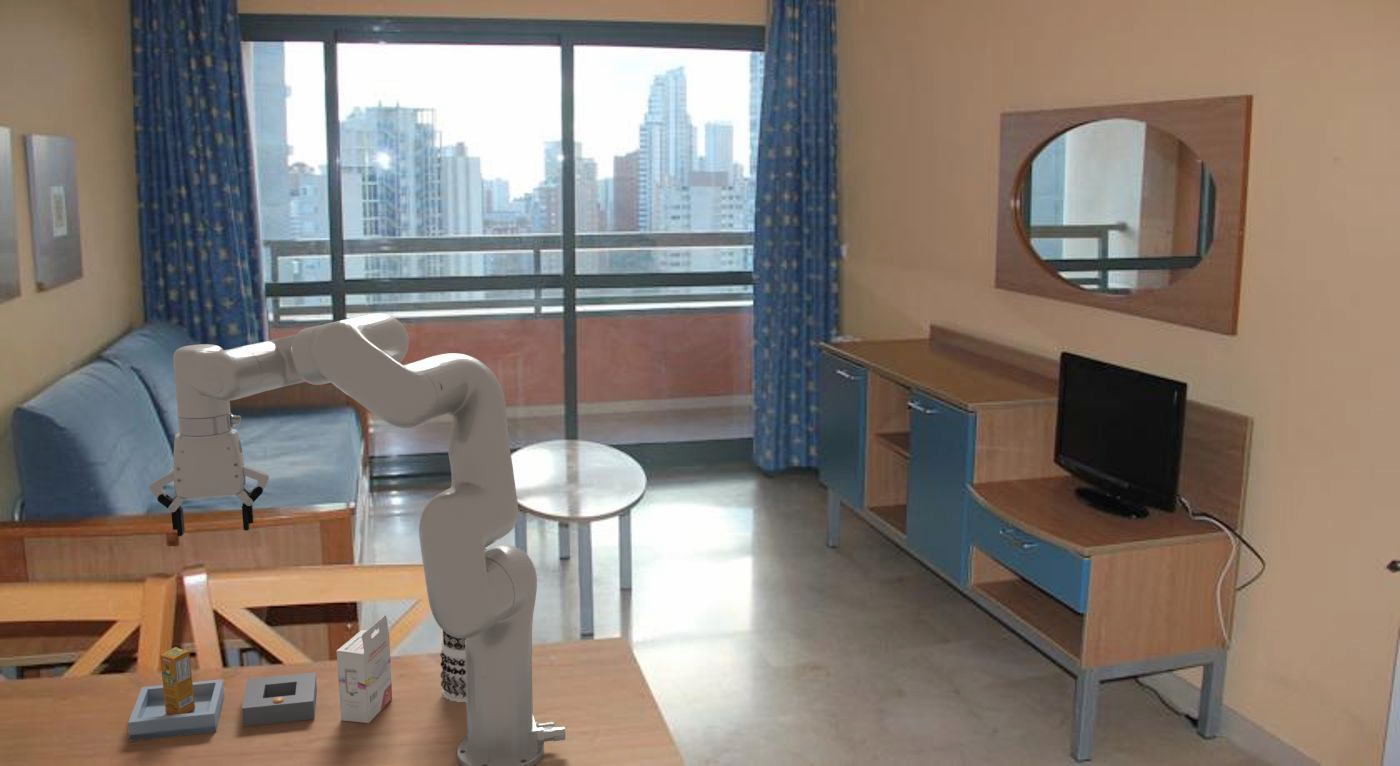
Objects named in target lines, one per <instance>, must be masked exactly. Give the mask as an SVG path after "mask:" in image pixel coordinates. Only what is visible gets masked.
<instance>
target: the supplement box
mask: <svg viewBox="0 0 1400 766" xmlns="http://www.w3.org/2000/svg"><path fill="white" fill-rule="evenodd" d="M159 657H160V669H161V676H162V685H163V690H164V700H165V710H166V714H169V715H178V714H187V713H189V712H191V711H193V710H194V709H195V703H194V692H193V683H192V682H193V676H192V667H191V666H192V665H191V658H190V657H191V656H190V651H189V650H187V649H182V648H179V647H177V646H174V647H172V648H171V649H169V650H167V651H164V652H163V653H161V654H159Z"/></svg>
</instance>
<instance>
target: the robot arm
mask: <svg viewBox="0 0 1400 766" xmlns="http://www.w3.org/2000/svg"><path fill="white" fill-rule="evenodd" d="M402 323H403V322H401V321H399V319H397V318H396V317H393V316H391V315H389V314H386V313H368V314H363V315H359V316H354V317H351V318H345V319H341V320H337V321H333V322H329V323H323V324H320V325H315V326H311V327H306V328H303V329H301V330H299V331H298V332H297V334H293V335H289V336H285V337H279V338H274V339H271V340H266V341H261V342H256V343H251V344H246V345H243V346H236V347H233V348H230V349H224V348H223V347H222V346H219V345H216V344H209V343H203V344H201V343H200V344H191V345H185V346H182V347H179V348H177V349H176V350H175V351H174V353H173V357H172V363H173V374H174V375H173V376H174V385H175V397H176V398H175V399H176V407H177V419H178V420H177V421H178V431H179V432H178V433H175V434H174V441H173V442H174V445H173V460H172V461H173V470H172V471H170V472H168V473H166V474H165V475H163V476H161V477H159V478H157V479H156V480H153V481H152V482H151V483H150V485H149V489H150V491H151V493H152V494H153V496H154V497H155V498H156V499H157V501H158V502H159V503H160V504H161V505H162V506H163V507H165V508H167V510H168V511H169V512H170V513H171V522H172V523H171V524H172V531H176V533H177V534H176V535H177V537H182V536H183V535H184V533H185V530H186V529H185V528H186V527H185V518H184V508H183V507H182V504H183V503H184V501H185V500H194V499H195V500H197V499H211V498H221V497H222V498H223V497H231V496H236V498H238V499H239V500H240V501H241V502H242V506H241V514H242V525H243V526H242V528H243V531H245V532H247V531H249V530H250V524H254V511H253V508H254V507H253V504H254V503H255V501H256V500H257V499H258V498H259V497H261V495H262V494H263V492H264V490H265V488H266V485H267V484H268V481H269V478H270V476H269V474H268V473H266V472H263V471H260V470H258V469H255V468H253V467H250V466H247V465H245V462H244V460H245V459H244V455H243V454H244V453H243V449H242V444H241V440H240V435H239V432H238V429H235V428H233V427H234V426H236V425H241V424H242V417H241V415H235V414H233V413H232V411H231V403H230V401H236V400H239V399H244V398H247V397H250V396H254V395H256V394H260V393H264V392H267V391H271V390H276V389H279V388H283V387H289V386H292V385H296V384H301V383H305V382H306V383H308V384H311V385H314V386H322V385H326V384H332V385H333V386H334V387H336V388H337V389H338V390H340V391H342V392H343V393H344V394H346V395H347V396H349V398H351V399H352V400H354V401H355V402H357V403H358V404H359V405H361V406H362V407H363V408H365V409H366V410H368V411H369V412H370V413H372V414H373V415H374V416H376V417H377V418H379V419H380V420H382V421H384V422H385V423H386V424H389V425H391V426H393V427H396V428H402V429H412V428H417V427H420V426H423V425H426V424H427V423H431V422H434V421H435V420H439V419H441V418H444V417H446V416H450V417H451V418H452V424H451V428H450V433H449V439H448V447H447V448H448V460H449V466H450V473H451V485H450V487H449V488H447V489H445V490H444V491H441V492H439V493H438V494H436V495H435V496H434V497H433V498H431V499H430V500H429V501H428V502H427V504H426V505H425V507H424V508H423V510H422V512H421V513H422V514H421V515H420V520H419V527H418V537H419V538H418V539H419V545H420V552H421V558H422V565H423V573H424V580H425V585H426V586H425V587H426V594H427V599H428V604H429V607H430V610H431V614H432V616H433V618H434V621H435V622H436V624H437V625H438V627H440V629H441V630H442V632H443V631H445V632H446V633H447V634H449V635H451V636H453V637H456V638H466V639H465V669H466V737H465V738H463V740H462V741H461V742H460V743H459V744H458V746H457V749H456V758H457V759H456V760H457V761H458V764H459V765H461V766H534V765H536V764H538V762H540V761H541V759H543V756H544V753H545V742H559V741H566V729H565V726H556V727H555V722H554V721H547V722H543V723H542V722H541V723H539V722H538V721H535V717H534V715H533V709H534V708H533V704H534V703H533V660H532V659H533V657H532V656H533V622H534V611H535V605H536V599H537V589H538V578H537V571H536V568H535V565H534V563H533V561H532V559H531V558H530V557H529V555H528V554H527V553H526V552H525V551H524V550H522V549H520V548H519V547H516V546H513V545H510V544H509V545H508V544H500V545H494V546H491V545H492V544H494V543H496V542H497V541H499V540H501V539H502V538H503V537H505V536H507V535H508V534H510V532H511V531H512V530H514V528H515V526H516V525H517V522H518V519H519V504H518V503H519V502H518V496H517V489H516V482H515V473H514V466H513V460H512V454H511V449H510V442H509V441H510V440H509V429H508V414H507V412H508V411H507V405H506V397H505V394H504V391H503V388H502V385H501V383H500V382H499V378H497V376H496V374H495V373H494V372H493V371H492V370H491V369H490V367H488V366H487V364H485V363H483V361H481V360H479V359H477V358H476V357H474V356H471V355H468V354H463V353H457V352H456V353H454V352H453V353H452V352H451V353H449V352H448V353H441V354H437V355H433V356H429V357H426V358H423V359H420V360H417V361H413V362H411V363H410V362H409V363H406V364H402V363H401V362H403V360H404V358H405V357H406V356H407V353H408V350H409V346H410V340H409V339H410V338H409V334H408V332H407V331H408V330H407V329H406V328H405V326H404V325H403V324H402ZM246 477H247V478H250V479H253V480H255V481H257V484H256V486H255V487H254V488H253V489H252V490H251V491H249V490H248V489H247V488H246V487H245V486H246ZM172 482H173V485H174V486H173V487H174V493H175V496H173V497H171V496H170V495H169V494H167V493H166V492H165V491H164V489H163V487H165V486H168V485H169V484H171V483H172ZM489 546H491V547H489ZM487 547H488V548H487ZM484 548H485V549H486V550H485V549H484Z"/></svg>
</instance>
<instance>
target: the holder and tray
mask: <svg viewBox="0 0 1400 766" xmlns="http://www.w3.org/2000/svg"><path fill="white" fill-rule="evenodd" d="M192 683H193V692H194V703H195V709H194V710H193V711H191V712H189V713H187V714H178V715H169V714H166V710H165V700H164V690H163V684H161V685H160V684H159V685H150V686H142V687H141V688H140V692H139V694H138V697H137V699H136V702H135V703H134V707H133V709H132V711H131V714H130V717H129V719H128V723H127V725H128V736H129V741H130V740H136V741H141V740H140V739H143V740H142V741H144V739H145V740H152V739H153V740H154V738H155V739H162V738H172V736H173V737H181V735H183V736H190V735H198V734H208V733H216V732H217V729H218V726H219V725H218V724H219V721H220V716H221V712H222V709H223V706H224V705H223V704H224V700H225V685H224V684H225V683H224V679H223V678H221V679H213V680H203V681H192ZM317 687H318V686H317V672H316V671H315V672H306V673H304V672H303V673H296V674H295V673H294V674H285V675H276V676H274V675H273V676H266V677H256V678H247V683H246V687H245V693H244V697H243V701H242V706H241V714H242V716H241V717H242V727H253V726H261V725H269V724H279V723H290V722H297V721H298V722H299V721H309V720H314V719H315V715H316V705H317V704H316V703H317V692H318V688H317ZM179 735H180V736H179Z"/></svg>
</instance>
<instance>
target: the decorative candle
mask: <svg viewBox="0 0 1400 766" xmlns="http://www.w3.org/2000/svg"><path fill="white" fill-rule="evenodd" d="M484 549H485V550H486V549H487V548H484ZM465 639H466V638H456V637H453V636H451V635H449V634H447V633H446V632H445V631H443V630H442V641H441V648H442V649H441V651H440V654H439V656H440V658H441V662H440V666H441V669H442V670H441V672H440V677H441V681H440V685H441V687H442V689H441V695H442V694H443V695H444V696H443V695H442V696H443V698H444V697H445V698H447V699H446V700H448V699H449V700H448V701H450V700H452V701H451V702H453V701H459V702H466V669H465ZM445 698H444V699H445ZM459 702H458V703H459Z"/></svg>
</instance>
